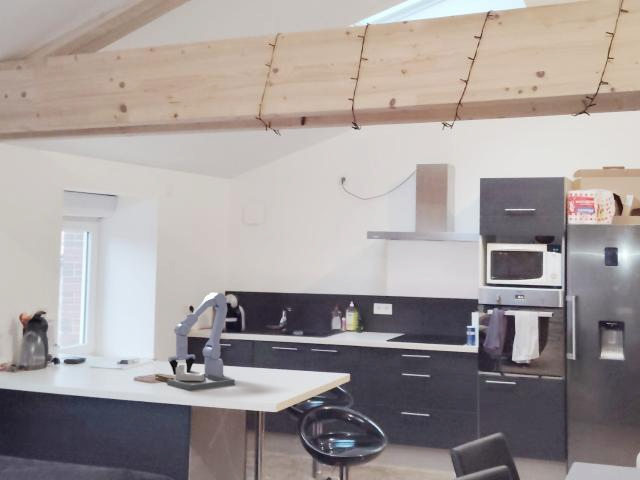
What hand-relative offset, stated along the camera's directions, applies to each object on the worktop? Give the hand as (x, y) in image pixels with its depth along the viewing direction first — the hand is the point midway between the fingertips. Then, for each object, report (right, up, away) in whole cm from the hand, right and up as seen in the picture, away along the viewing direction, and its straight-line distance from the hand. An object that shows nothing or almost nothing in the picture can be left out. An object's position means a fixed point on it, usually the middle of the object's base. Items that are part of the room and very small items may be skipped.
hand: (181, 373), depth 393 cm
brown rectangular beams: (-1, -3, +1) cm, 3 cm away
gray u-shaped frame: (+12, -3, -14) cm, 19 cm away
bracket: (+5, -3, -5) cm, 8 cm away
